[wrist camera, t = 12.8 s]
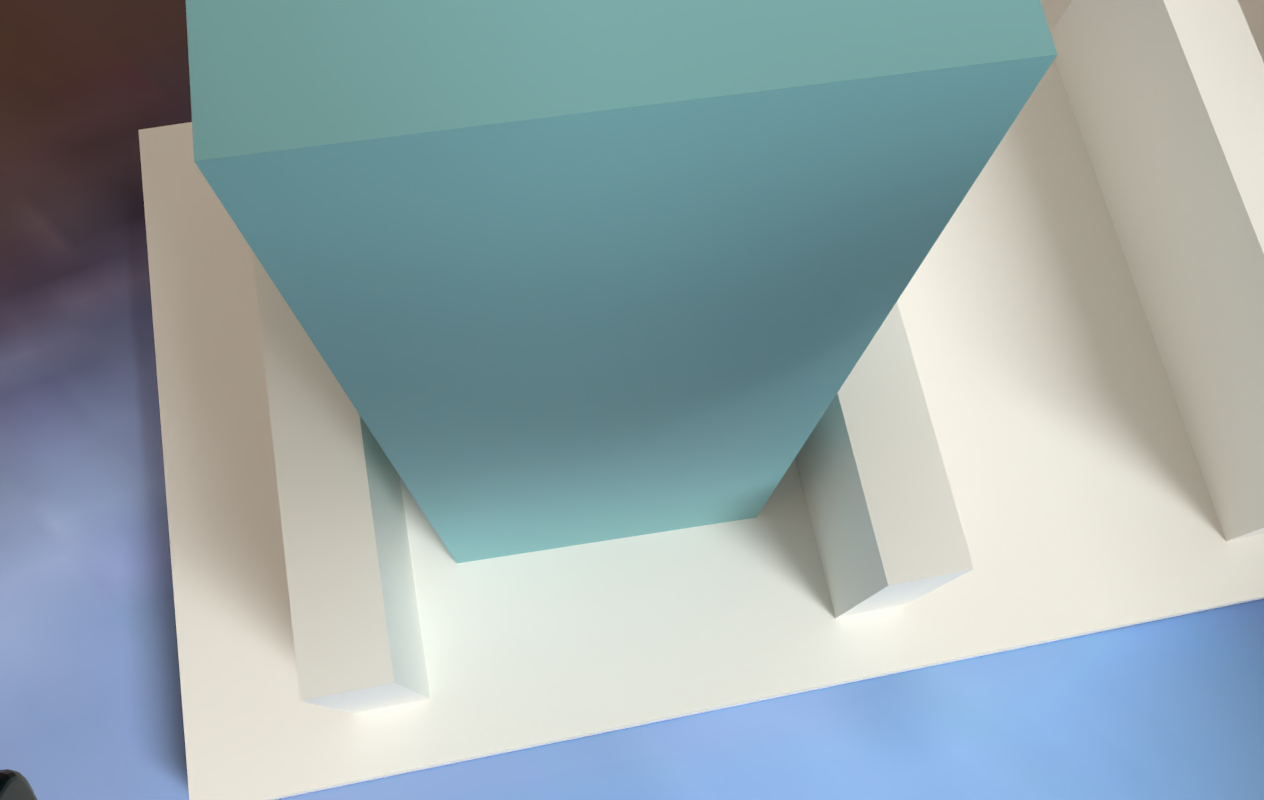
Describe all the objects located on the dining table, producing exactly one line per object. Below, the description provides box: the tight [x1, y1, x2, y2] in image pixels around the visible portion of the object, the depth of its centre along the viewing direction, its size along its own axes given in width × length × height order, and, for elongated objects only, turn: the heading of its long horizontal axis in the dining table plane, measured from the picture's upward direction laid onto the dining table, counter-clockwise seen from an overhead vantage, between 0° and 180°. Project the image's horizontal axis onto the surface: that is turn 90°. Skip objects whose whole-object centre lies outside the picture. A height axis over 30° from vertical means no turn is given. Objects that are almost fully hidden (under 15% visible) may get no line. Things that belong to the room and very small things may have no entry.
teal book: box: [186, 0, 1057, 563], centre depth 14 cm, size 6×5×13 cm
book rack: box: [138, 0, 1264, 800], centre depth 16 cm, size 12×25×10 cm, turn 101°
